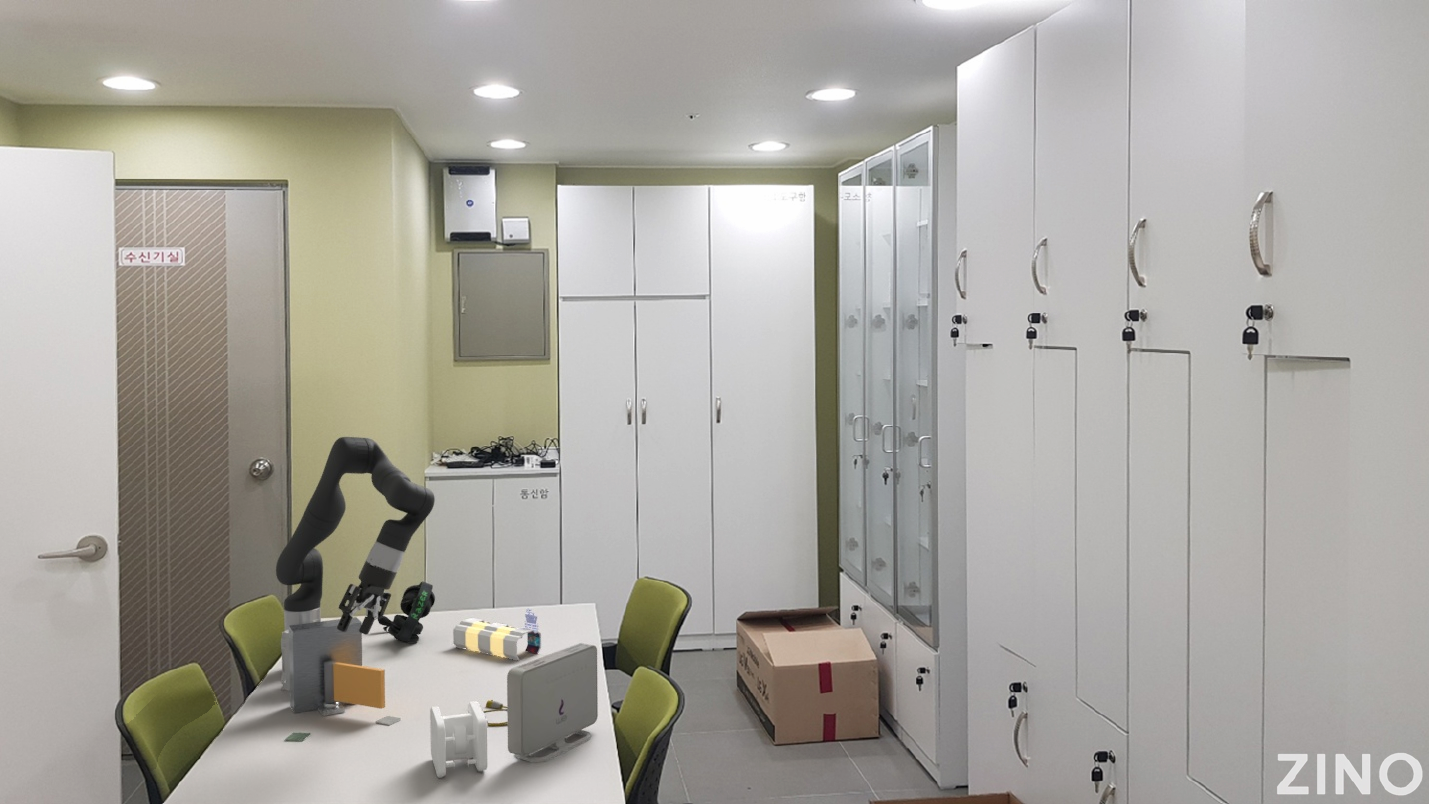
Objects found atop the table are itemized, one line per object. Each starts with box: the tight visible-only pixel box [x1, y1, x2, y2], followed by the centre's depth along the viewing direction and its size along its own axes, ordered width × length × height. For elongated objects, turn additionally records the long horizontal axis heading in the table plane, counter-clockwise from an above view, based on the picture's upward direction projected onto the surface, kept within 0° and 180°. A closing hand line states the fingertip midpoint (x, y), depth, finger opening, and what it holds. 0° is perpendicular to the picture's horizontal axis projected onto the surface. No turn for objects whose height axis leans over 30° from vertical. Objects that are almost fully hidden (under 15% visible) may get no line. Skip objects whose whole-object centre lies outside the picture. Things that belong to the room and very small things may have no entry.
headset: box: [376, 581, 436, 644], centre depth 313 cm, size 18×14×29 cm
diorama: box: [453, 608, 542, 662], centre depth 302 cm, size 25×10×13 cm, turn 57°
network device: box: [506, 642, 599, 763], centre depth 228 cm, size 26×9×20 cm, turn 148°
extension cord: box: [483, 699, 508, 727], centre depth 248 cm, size 12×16×2 cm
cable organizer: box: [429, 700, 489, 779], centre depth 217 cm, size 15×11×12 cm
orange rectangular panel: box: [324, 660, 386, 710], centre depth 248 cm, size 18×3×10 cm, turn 66°
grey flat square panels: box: [284, 616, 402, 742], centre depth 247 cm, size 26×26×20 cm
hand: (352, 632), depth 236 cm, fingers open, 8 cm apart
